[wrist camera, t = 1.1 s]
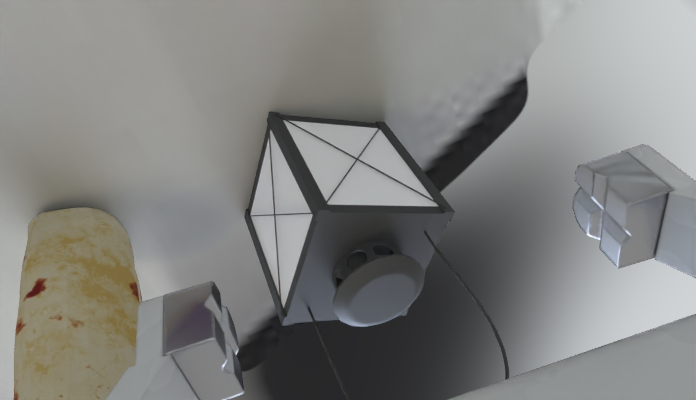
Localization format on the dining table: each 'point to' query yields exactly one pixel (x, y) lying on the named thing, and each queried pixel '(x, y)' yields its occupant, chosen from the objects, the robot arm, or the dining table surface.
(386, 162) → the lantern
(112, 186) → the dining table surface
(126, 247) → the food model
